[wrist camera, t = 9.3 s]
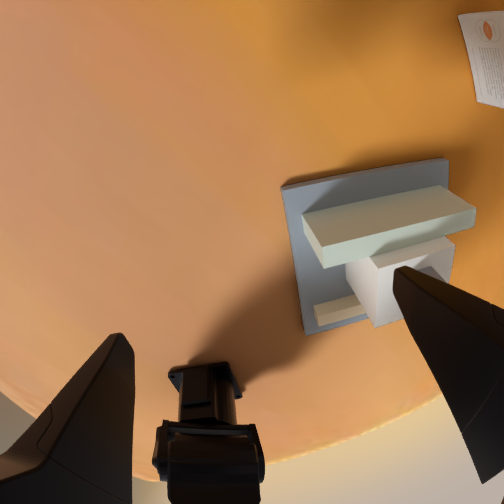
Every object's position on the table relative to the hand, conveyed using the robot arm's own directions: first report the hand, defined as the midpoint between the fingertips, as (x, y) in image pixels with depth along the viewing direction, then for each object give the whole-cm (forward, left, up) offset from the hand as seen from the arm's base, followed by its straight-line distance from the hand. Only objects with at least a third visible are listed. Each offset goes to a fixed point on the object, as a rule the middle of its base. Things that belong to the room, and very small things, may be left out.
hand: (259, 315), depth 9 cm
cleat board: (-8, -10, -13) cm, 18 cm away
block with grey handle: (-7, -10, -12) cm, 17 cm away
